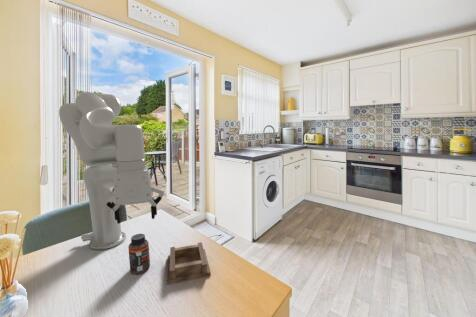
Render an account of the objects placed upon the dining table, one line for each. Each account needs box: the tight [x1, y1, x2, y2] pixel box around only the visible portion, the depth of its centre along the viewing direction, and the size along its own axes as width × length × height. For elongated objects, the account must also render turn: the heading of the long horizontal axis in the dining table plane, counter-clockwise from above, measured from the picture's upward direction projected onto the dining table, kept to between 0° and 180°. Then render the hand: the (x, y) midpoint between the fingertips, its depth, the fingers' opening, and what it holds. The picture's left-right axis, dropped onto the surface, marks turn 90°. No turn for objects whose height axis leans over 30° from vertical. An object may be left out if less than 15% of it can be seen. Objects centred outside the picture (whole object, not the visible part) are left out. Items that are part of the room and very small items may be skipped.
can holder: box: [166, 241, 212, 285], centre depth 69 cm, size 13×13×4 cm
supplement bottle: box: [128, 233, 151, 275], centre depth 68 cm, size 6×6×11 cm
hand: (137, 219), depth 66 cm, fingers open, 9 cm apart
